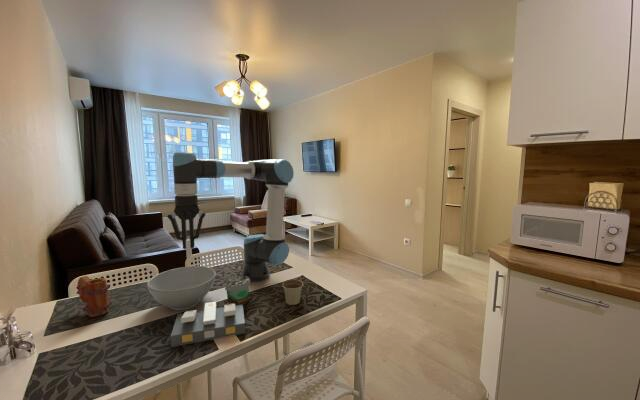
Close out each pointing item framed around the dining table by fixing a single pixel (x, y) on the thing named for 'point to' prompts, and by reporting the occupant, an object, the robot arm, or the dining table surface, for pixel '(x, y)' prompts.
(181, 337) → the switch unit
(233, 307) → the block
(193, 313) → the block
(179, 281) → the decorative bowl
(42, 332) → the dining table surface
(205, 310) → the rocker
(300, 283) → the flower pot
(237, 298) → the food container
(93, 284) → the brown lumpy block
